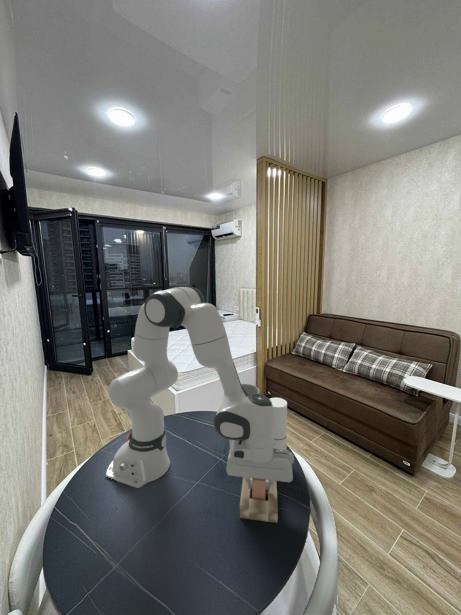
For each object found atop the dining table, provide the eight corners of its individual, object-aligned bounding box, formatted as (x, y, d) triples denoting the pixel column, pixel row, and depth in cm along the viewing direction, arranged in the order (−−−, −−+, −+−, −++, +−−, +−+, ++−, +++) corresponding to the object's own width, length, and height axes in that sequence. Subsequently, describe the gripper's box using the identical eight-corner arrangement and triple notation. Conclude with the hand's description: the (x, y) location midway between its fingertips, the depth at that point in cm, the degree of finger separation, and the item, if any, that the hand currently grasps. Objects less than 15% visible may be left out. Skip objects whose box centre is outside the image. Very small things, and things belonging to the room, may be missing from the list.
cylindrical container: (286, 473, 87) (287, 408, 85) (266, 470, 89) (266, 406, 86) (285, 459, 94) (286, 398, 91) (267, 456, 96) (267, 396, 93)
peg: (252, 504, 74) (252, 480, 73) (252, 492, 78) (253, 470, 77) (265, 505, 73) (265, 481, 72) (265, 494, 77) (265, 471, 76)
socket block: (239, 517, 71) (239, 505, 71) (243, 486, 82) (243, 475, 82) (277, 523, 70) (277, 510, 69) (276, 490, 80) (276, 479, 80)
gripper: (293, 443, 75) (292, 484, 77) (228, 437, 78) (228, 476, 80) (295, 458, 69) (294, 502, 71) (225, 451, 72) (225, 493, 74)
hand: (258, 488), depth 75 cm, fingers closed on peg, 4 cm apart
